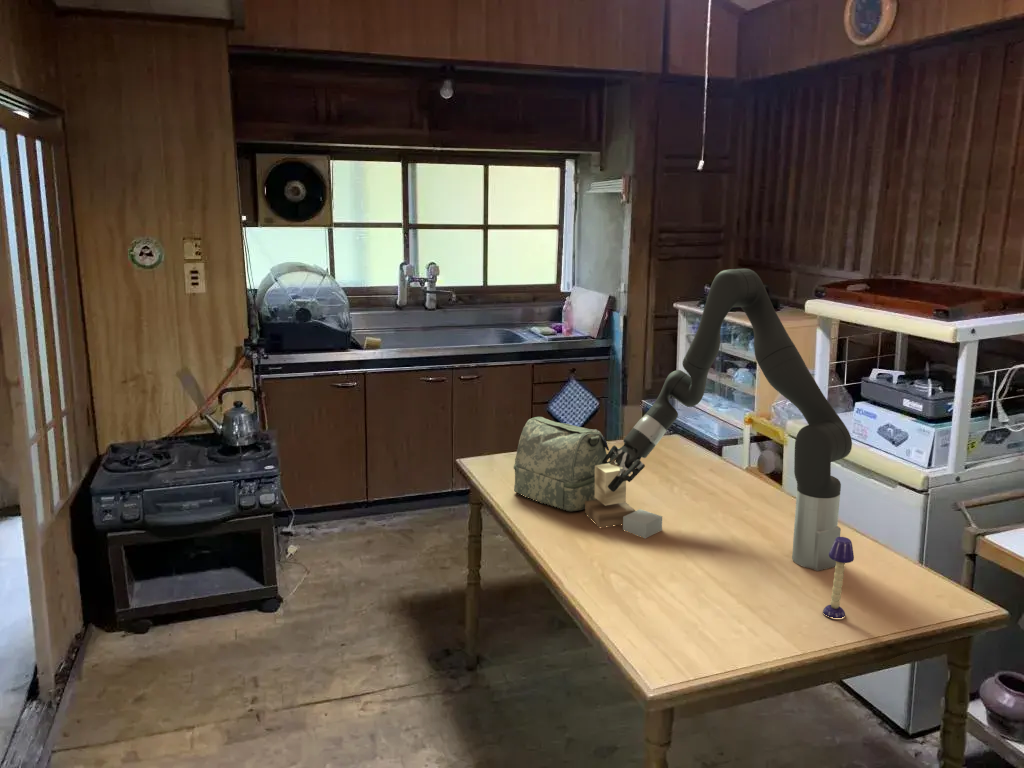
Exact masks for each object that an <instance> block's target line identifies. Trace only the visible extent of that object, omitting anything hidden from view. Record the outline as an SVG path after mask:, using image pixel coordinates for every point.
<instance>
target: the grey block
mask: <svg viewBox="0 0 1024 768" xmlns="http://www.w3.org/2000/svg"><path fill="white" fill-rule="evenodd" d="M623 530H625V531H624V532H626V531H628V532H630V533H629V534H631V533H633V534H632V535H634V534H635V535H634V536H637V535H638V536H637V537H640V536H641V537H640V538H642V537H643V538H642V539H647V538H649V537H651V536H653V535H655V534H658V533H660V532H661V531H662V530H663V516H662V515H659V514H656V513H653V512H650V511H647V510H644V509H641V508H640V509H637V510H635V512H633V513H630V514H628V515H626V516H624V517H623V525H622V531H623ZM628 532H627V533H628Z"/></svg>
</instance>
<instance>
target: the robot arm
mask: <svg viewBox="0 0 1024 768" xmlns="http://www.w3.org/2000/svg"><path fill="white" fill-rule="evenodd" d="M733 308H741V309H742V310H743V312H744V313H745V316H746V317H747V319H748V321H749V322H750V324H751V326H752V330H753V345H754V346H753V349H754V350H753V351H754V358H755V360H756V362H757V364H758V366H759V368H760V371H762V374H763V376H764V377H765V379H766V380H767V382H768V383H769V385H770V387H773V389H774V390H775V391H777V393H778V394H781V396H783V397H784V398H785V399H786V400H788V401H789V402H790V403H791V404H793V406H795V407H796V408H797V409H798V411H799V412H800V413H801V414H802V416H803V417H804V420H805V421H806V422H807V424H808V425H805V426H803V427H801V428H800V429H799V430H798V432H797V434H796V437H795V442H794V456H793V457H794V462H793V463H794V464H793V465H794V468H793V469H794V471H793V472H794V478H795V481H796V496H795V497H796V498H795V499H796V500H795V510H794V511H795V512H794V513H795V514H794V526H793V527H794V528H793V537H792V538H793V541H792V553H791V558H792V561H793V562H794V563H795V564H796V565H799V566H801V567H803V568H808V569H811V570H815V571H816V572H819V571H823V569H824V570H827V568H828V569H831V567H832V568H835V567H834V566H836V561H834V560H832V559H831V558H830V557H829V552H830V549H831V547H832V545H833V543H834V540H835V539H836V538H837V537H841V533H842V532H841V530H842V529H841V527H840V526H838V525H839V524H838V523H839V512H840V511H839V510H840V501H841V500H840V499H841V488H842V483H841V481H840V480H839V478H837V477H835V476H833V475H832V473H831V468H832V464H831V463H833V462H836V461H839V460H842V459H844V458H846V457H848V455H849V454H851V451H852V449H853V441H852V436H851V433H850V431H849V430H848V428H847V426H846V424H845V423H844V422H843V420H842V419H841V418H840V416H839V415H838V413H837V412H836V410H835V409H834V408H833V407H832V405H831V404H830V402H829V401H828V399H827V398H826V397H825V395H824V393H823V392H822V390H821V388H820V387H819V385H818V383H817V382H816V380H815V379H814V376H813V375H812V373H811V372H810V370H809V369H808V366H807V365H806V363H805V361H804V359H803V357H802V355H801V354H800V351H798V349H797V347H796V345H795V344H794V342H793V340H792V339H791V337H790V336H789V334H788V332H787V330H786V328H785V327H784V325H783V322H782V321H781V319H780V318H779V316H778V314H777V312H776V310H775V308H774V305H773V303H772V301H771V299H770V296H769V294H768V292H767V289H766V287H765V285H764V283H763V281H762V279H761V277H760V276H759V275H758V273H757V272H756V271H754V270H753V269H750V268H731V269H730V268H729V269H723V270H721V271H720V272H719V273H717V274H716V275H715V276H714V279H713V281H712V283H711V285H710V288H709V291H708V294H707V297H706V301H705V305H704V307H703V312H702V314H701V319H700V322H699V324H698V327H697V331H696V332H695V335H694V337H693V339H692V341H691V344H690V345H689V347H688V349H687V352H686V354H685V355H684V357H683V360H682V367H683V369H684V370H685V371H686V372H687V373H686V372H684V371H683V370H680V369H677V370H674V371H671V372H670V373H669V374H668V375H667V377H666V379H665V381H664V383H663V386H662V388H661V391H660V392H659V395H658V396H657V398H656V400H655V401H654V403H653V405H651V407H649V409H648V410H647V412H646V413H645V414H644V415H643V416H642V417H641V418H640V419H639V420H638V421H637V422H636V424H635V425H633V427H632V428H631V429H630V431H629V432H628V433H627V435H625V437H624V438H623V441H622V442H623V445H622V446H621V447H617V445H614V444H613V446H612V447H611V448H610V449H609V451H608V452H607V455H606V457H605V458H604V460H603V461H602V463H603V464H608V463H610V464H615V463H617V464H618V465H620V466H619V468H620V471H619V473H618V477H617V476H616V477H615V478H614V479H613V480H612V482H611V483H610V484H609V485H608V488H609V489H610V490H611V491H613V492H614V491H615V490H616V489H617V488H618V487H619V486H620V485H621V483H622V482H623V481H624V482H625V481H626V482H628V483H630V482H632V481H633V480H634V478H636V477H637V475H639V474H640V473H641V472H642V470H643V469H644V468H645V467H646V466H645V464H644V463H643V462H642V461H641V459H642V458H643V459H646V458H647V457H648V456H649V455H650V453H652V451H653V450H654V449H655V447H656V446H657V445H658V443H660V441H661V440H662V439H663V437H664V436H665V434H666V432H667V431H668V430H669V428H671V426H672V425H673V424H674V422H675V421H676V420H677V418H678V416H679V414H678V413H679V412H678V411H677V409H675V408H676V407H674V406H673V405H672V404H671V402H670V398H671V397H673V398H674V399H675V400H676V401H678V402H680V403H681V404H682V405H684V406H686V407H689V408H692V407H696V406H697V405H699V403H700V402H701V401H702V399H703V397H704V394H705V392H706V391H705V390H706V385H707V379H708V374H709V371H710V369H711V367H712V365H713V363H714V361H715V359H716V357H717V356H718V353H719V351H720V347H721V329H722V325H723V322H724V320H725V318H726V316H727V315H728V314H729V313H730V311H731V310H732V309H733ZM624 471H625V473H624V474H623V472H624Z"/></svg>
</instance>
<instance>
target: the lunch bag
mask: <svg viewBox="0 0 1024 768" xmlns="http://www.w3.org/2000/svg"><path fill="white" fill-rule="evenodd" d="M520 433H521V434H520V437H519V440H518V446H517V450H516V454H515V455H516V456H515V458H514V464H513V470H514V487H513V490H514V493H515V492H517V493H519V494H522V495H524V496H526V497H529V498H532V499H534V500H537V501H538V502H541V503H540V504H543V503H544V504H543V505H546V504H547V505H546V506H549V505H551V506H550V507H553V506H554V507H553V508H556V507H557V509H559V508H560V510H562V509H563V510H562V511H565V510H566V512H576V511H583V510H585V501H591V500H597V499H596V498H595V465H601V464H603V463H602V461H603V460H604V458H605V457H606V455H607V454H608V452H609V451H610V449H609V446H608V442H607V440H606V439H605V436H603V434H602V432H601V431H600V430H598V429H596V428H595V429H591V428H586V427H581V426H578V425H573V424H570V423H562V422H557V421H554V420H550V419H548V418H545V417H543V416H535V417H532V418H529V419H528V420H527V421H526V423H525V425H524V426H523V428H522V431H521V432H520ZM607 451H608V452H607ZM517 493H516V494H517ZM519 494H518V495H519ZM526 497H525V498H526ZM534 500H533V501H534ZM538 502H537V503H538Z"/></svg>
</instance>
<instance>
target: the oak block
mask: <svg viewBox="0 0 1024 768" xmlns="http://www.w3.org/2000/svg"><path fill="white" fill-rule="evenodd" d="M619 466H620V465H618V464H617V463H615V464H610V463H608V464H601V465H595V498H596V499H597V500H598V501H600V502H601V503H602V504H604V505H605V506H606V505H612V504H617V503H623V502H626V503H627V500H626V499H627V481H625V482H624V481H623V482H622V483H621V485H620V486H619V487H618V488H617V489H616V490H615V491H614V492H613V491H611V490H610V489H609V488H608V485H609V484H610V483H611V482H612V480H613V479H614V478H615V477H616V476H617V477H618V473H619V471H620V468H619ZM624 473H625V471H624V472H623V474H624Z"/></svg>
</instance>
